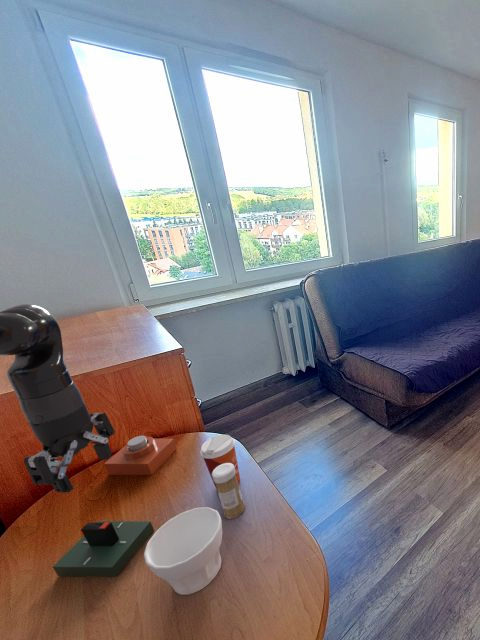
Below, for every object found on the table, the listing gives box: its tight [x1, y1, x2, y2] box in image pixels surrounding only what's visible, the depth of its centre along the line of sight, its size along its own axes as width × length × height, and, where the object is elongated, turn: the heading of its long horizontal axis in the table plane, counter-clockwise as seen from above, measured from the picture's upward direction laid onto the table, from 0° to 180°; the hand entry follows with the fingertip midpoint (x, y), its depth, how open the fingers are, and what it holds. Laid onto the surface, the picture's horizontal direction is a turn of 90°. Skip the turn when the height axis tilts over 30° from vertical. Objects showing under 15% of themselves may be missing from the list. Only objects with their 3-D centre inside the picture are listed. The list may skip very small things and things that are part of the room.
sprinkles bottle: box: [211, 463, 246, 520], centre depth 79 cm, size 5×5×13 cm
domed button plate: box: [103, 436, 178, 476], centre depth 95 cm, size 12×10×6 cm
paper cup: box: [199, 433, 241, 491], centre depth 87 cm, size 8×8×14 cm
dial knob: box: [80, 522, 119, 546], centre depth 70 cm, size 5×2×5 cm, turn 90°
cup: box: [143, 507, 223, 596], centre depth 67 cm, size 12×12×11 cm
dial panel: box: [52, 520, 155, 578], centre depth 72 cm, size 12×10×3 cm
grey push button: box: [126, 435, 148, 451], centre depth 94 cm, size 4×4×2 cm
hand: (87, 473), depth 69 cm, fingers open, 8 cm apart
